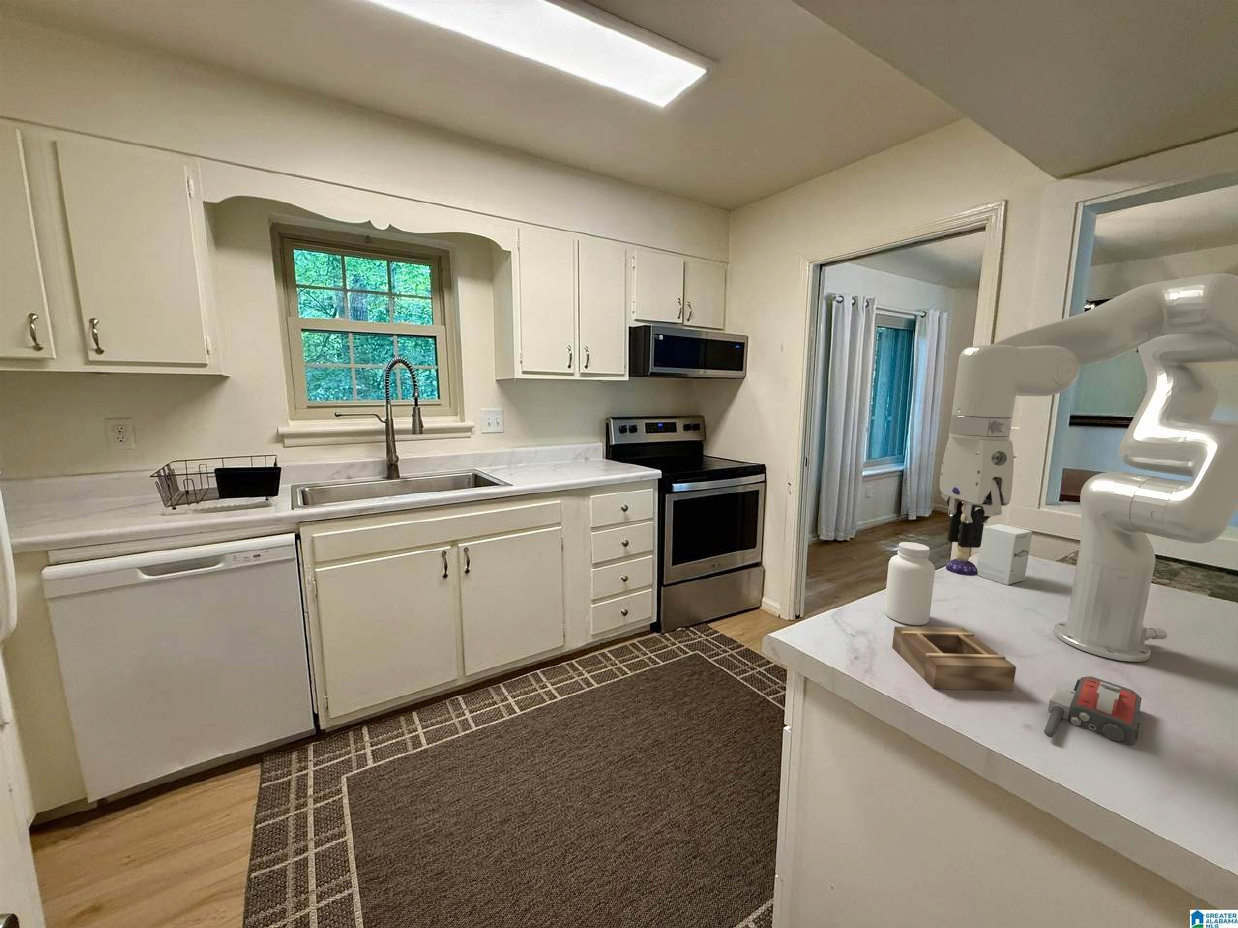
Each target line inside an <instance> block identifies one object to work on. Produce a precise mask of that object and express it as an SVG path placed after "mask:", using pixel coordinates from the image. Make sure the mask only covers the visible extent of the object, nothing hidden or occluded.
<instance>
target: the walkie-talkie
mask: <svg viewBox="0 0 1238 928" xmlns="http://www.w3.org/2000/svg"><path fill="white" fill-rule="evenodd" d="M1141 704H1142V697H1141V696H1140V695H1139V694H1138V693H1137V692H1135V690H1133V689H1130V688H1127V687H1124V686H1122V685H1118V684H1115V683H1114V682H1113V683H1112V682H1110V681H1106V680H1103V679H1100V678H1097V677H1095V676H1081V677H1080V678H1079V679H1077V680H1076V683H1075V685H1074V688H1073V689H1070V688H1068V689H1056V690H1055V691H1054V694H1053V696H1052V697H1051V698H1050V699H1049V701H1048V709H1047V712H1048V713H1050V716H1049V718H1048V720H1047V723H1046V725H1045V728H1044V729H1043V733H1044V734H1045V736H1046V737H1048V738H1050V739H1052V738H1054V736H1055V734H1056V731H1057V729H1058V727H1059V724H1060V721H1061V719H1065V720H1068V721H1069V723H1072V724H1073V725H1074V726H1080V727H1082V728H1085V729H1087V730H1090V731H1093V732H1094V733H1097V734H1099V735H1101V736H1105V737H1106V738H1108V739H1109V740H1111V741H1114V742H1115V741H1116V742H1119V743H1123V744H1126V745H1127V746H1128V745H1129V746H1134V744H1135V740H1138V737H1139V736H1138V735H1139V728H1140V725H1141V724H1140V722H1139V718H1140V712H1141V711H1140V710H1141Z"/></svg>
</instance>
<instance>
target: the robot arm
mask: <svg viewBox="0 0 1238 928" xmlns="http://www.w3.org/2000/svg"><path fill="white" fill-rule="evenodd" d="M1136 348H1137V351H1138V353H1139V356H1140V359H1141V362H1142V365H1143V368H1144V371H1145V374H1146V380H1147V388H1146V389H1147V390H1146V393H1145V396H1144V398H1143V400H1142V401H1141V404H1140V405H1139V407H1138V409H1137V411H1136V413H1135V415H1134V416H1133V419H1132V420H1131V422H1130V424H1129V426H1128V428H1127V430H1126V431H1125V433H1124V435H1123V437H1122V439H1121V442H1120V445H1119V448H1118V457H1119V460H1121V462H1122V463H1124V464H1125V465H1127V466H1129V467H1130V468H1134V469H1138V470H1141V471H1142V470H1144V471H1149V472H1155V473H1159V474H1160V473H1162V474H1167V475H1176V476H1181V477H1188V478H1189V477H1190V478H1191V480H1190V481H1188V480H1187V481H1186V480H1181V479H1180V480H1179V479H1172V478H1168V477H1167V478H1166V477H1161V476H1155V475H1148V474H1147V475H1146V474H1141V473H1133V472H1125V471H1124V472H1123V471H1108V472H1101V473H1098V474H1095V475H1093V476H1091V477H1090V478H1088V480H1086V481H1085V483H1084V484H1083V486H1082V488H1081V489H1080V490H1081V491H1080V497H1079V500H1080V501H1079V502H1080V504H1079V505H1080V513H1081V534H1080V541H1079V549H1078V553H1077V554H1078V555H1077V561H1076V564H1075V571H1074V577H1073V583H1072V588H1071V596H1070V600H1069V606H1068V611H1067V617H1066V621H1060V622H1057V623H1055V625H1054V627H1053V632H1054V634H1055V636H1056V637H1057V638H1058V639H1060V641H1062V642H1064V643H1066V644H1068V645H1069V646H1072V647H1074V648H1076V649H1079V650H1081V651H1083V652H1086V653H1089V654H1092V655H1095V656H1098V657H1102V658H1105V659H1110V660H1115V661H1121V662H1131V663H1133V662H1134V663H1141V662H1146V661H1148V660H1149V659H1151V654H1152V653H1151V652H1152V650H1151V648H1150V647H1148V646H1147V645H1146V644H1145V642H1146V641H1148V640H1149V641H1150V640H1166V639H1167V637H1168V634H1167V631H1166V630H1165V629H1163V628H1160V627H1146V626H1144V620H1145V615H1146V610H1147V605H1148V599H1149V596H1150V590H1151V585H1152V581H1153V576H1154V571H1155V566H1156V553H1155V550H1154V547H1153V545H1152V543H1151V541H1150V539H1149V537H1148V535H1147V534H1149V535H1152V536H1156V537H1160V538H1166V539H1168V540H1169V539H1170V540H1175V541H1179V542H1184V543H1189V544H1207V543H1210V542H1213V541H1215V540H1217V539H1218V538H1220V536H1221V535H1223V533H1224V532H1225V531H1226V530H1227V528H1228V526H1229V525H1230V523H1231V522H1232V520H1233V519H1234V517H1235V514H1237V511H1238V421H1237V420H1229V419H1212V416H1213V413H1214V412H1215V410H1216V408H1217V406H1218V404H1219V402H1220V397H1221V394H1220V391H1219V388H1218V386H1217V385H1216V383H1215V382H1214V380H1213V378H1211V377H1210V376H1209V375H1208V374H1207V373H1206V372H1205V370H1204V369H1203V368H1202V367H1201V366H1200V364H1199V363H1224V362H1225V363H1226V362H1227V363H1228V362H1229V363H1230V362H1231V363H1232V362H1233V363H1234V362H1235V363H1237V362H1238V275H1236V274H1232V273H1224V272H1223V273H1222V272H1221V273H1218V272H1217V273H1210V274H1203V275H1196V276H1195V275H1194V276H1188V277H1182V278H1177V279H1169V280H1164V281H1156V282H1151V283H1147V284H1143V285H1140V286H1137V287H1134V288H1133V289H1130V290H1127V291H1126V292H1124V293H1122V294H1120V295H1117V296H1116V297H1114V298H1112V299H1109V300H1108V301H1106V302H1103V303H1101V304H1099V305H1097V306H1094V307H1093V308H1091V309H1089V310H1087V311H1084V312H1082V313H1079V314H1077V315H1076V314H1075V315H1073V316H1069V317H1065V318H1062V319H1059V320H1055V321H1053V322H1051V323H1048V324H1044V325H1041V326H1037V327H1034V328H1031V329H1028V330H1025V331H1021V332H1018V333H1016V334H1012V335H1010V336H1007V337H1005V338H1003V339H1001V340H998V341H996V342H994V343H991V344H986V345H985V344H984V345H974V346H968V347H966V348H964V349H963V350H962V351H961V353H960V355H959V358H958V365H957V371H956V379H955V387H954V394H953V401H952V410H951V418H950V423H949V424H950V425H949V432H948V439H947V442H946V446H945V450H944V454H943V458H942V464H941V468H940V476H939V477H940V478H939V490H940V491H941V493H940V496H941V498H942V499H943V500H944V501H945V502H946V504H947V506H948V511H947V514H948V516H949V524H948V530H947V538H946V539H947V541H948V542H950V543H957V545H958V546H960V547H967V548H970V549H972V548H973V549H974V548H975V549H980V546H981V541H982V534H983V527H985V525H986V524H987V523H988V521H989V519H990V518H991V517H995V516H1000V515H1002V514H1003V509H1002V507H1003V506H1004V507H1005V506H1008V505H1009V504H1010V503H1011V500H1012V491H1013V483H1014V471H1015V470H1014V467H1015V464H1014V463H1015V461H1014V458H1015V457H1014V445H1013V440H1010V437H1011V432H1012V431H1011V430H1012V423H1013V417H1014V411H1015V404H1016V399H1017V398H1016V397H1017V396H1018V397H1048V396H1055V395H1058V394H1060V393H1061V394H1062V393H1063V392H1064V391H1067V390H1068V389H1069V388H1071V387H1072V386H1073V385H1074V384H1075V382H1076V381H1077V380H1078V378H1079V376H1080V374H1081V373H1080V372H1081V367H1085V366H1091V365H1095V364H1100V363H1104V362H1108V361H1111V360H1114V359H1117V358H1118V357H1121V356H1122V355H1124V354H1126V353H1128V352H1130V351H1132V350H1134V349H1136ZM954 487H956V488H958V490H959V491H960V495H958V494H954V493H953V492H952V490H953V488H954ZM963 501H964V502H967V504H966V510H965V517H964V521H965V522H961V515H962V514H963V512H962V506H963V504H964V503H963ZM974 510H975V511H974ZM958 536H959V538H958Z"/></svg>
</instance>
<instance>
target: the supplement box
mask: <svg viewBox="0 0 1238 928" xmlns="http://www.w3.org/2000/svg"><path fill="white" fill-rule="evenodd" d="M1032 535H1033V531H1032V530H1030V529H1029V530H1028V529H1026V528H1021V527H1015V526H1012V525H1006V524H1002V523H997V524H992V525H986V526H985V525H984V527H983V534H982V541H981V546H980V547H979V548H978V557H977V564H976V568H977V571H978V575H977V576H979V577H982V578H985V579H988V580H991V581H992V582H996V583H1000V584H1001V585H1006V586H1009V585H1011V584H1014V583H1015V584H1016V583H1019V582H1024V581H1025V580H1026V573H1027V567H1028V561H1029V555H1030V550H1031V541H1032Z"/></svg>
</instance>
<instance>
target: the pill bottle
mask: <svg viewBox="0 0 1238 928" xmlns="http://www.w3.org/2000/svg"><path fill="white" fill-rule="evenodd" d="M930 552H931V549H930V547H929V546H928V545H925V544H921V543H918V542H911V541H910V542H909V541H902V542H900V543H898V550H897V554H895V555H893V556H892V557H890V558H889V559H890V560H889V561H888V567H887V568H888V569H887V576H886V577H887V578H886V587H885V588H886V589H885V596H884V608H883V611H884V614H885V615H886V617H888V618H890V619H891V620H893V621H896V622H898V623H901V624H904V625H905V624H906V625H910V626H922V625H927V624H928V623H929V621H930V616H931V608H932V599H933V592H934V583H935V573H936V567H935V565H934V563H933V562H932V561H931V560H929V557H930Z"/></svg>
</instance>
